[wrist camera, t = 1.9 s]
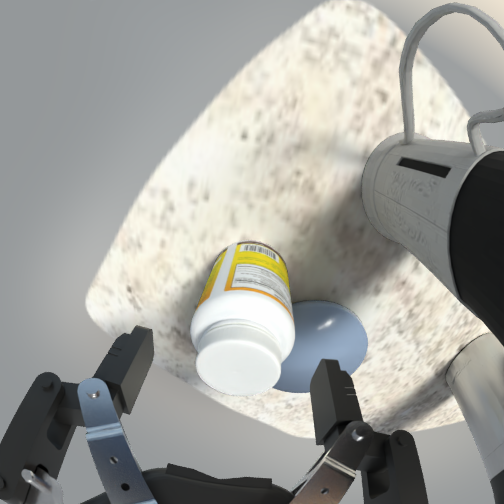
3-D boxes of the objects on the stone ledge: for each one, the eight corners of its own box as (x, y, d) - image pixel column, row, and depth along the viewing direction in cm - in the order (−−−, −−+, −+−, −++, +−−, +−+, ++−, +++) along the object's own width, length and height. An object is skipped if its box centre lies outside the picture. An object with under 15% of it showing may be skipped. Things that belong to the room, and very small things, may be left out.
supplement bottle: (231, 309, 22) (209, 411, 13) (203, 250, 20) (154, 339, 11) (296, 290, 21) (310, 394, 12) (274, 226, 19) (277, 310, 10)
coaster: (382, 308, 21) (386, 315, 21) (340, 388, 26) (341, 395, 25) (260, 290, 21) (260, 297, 20) (240, 378, 26) (239, 386, 25)
